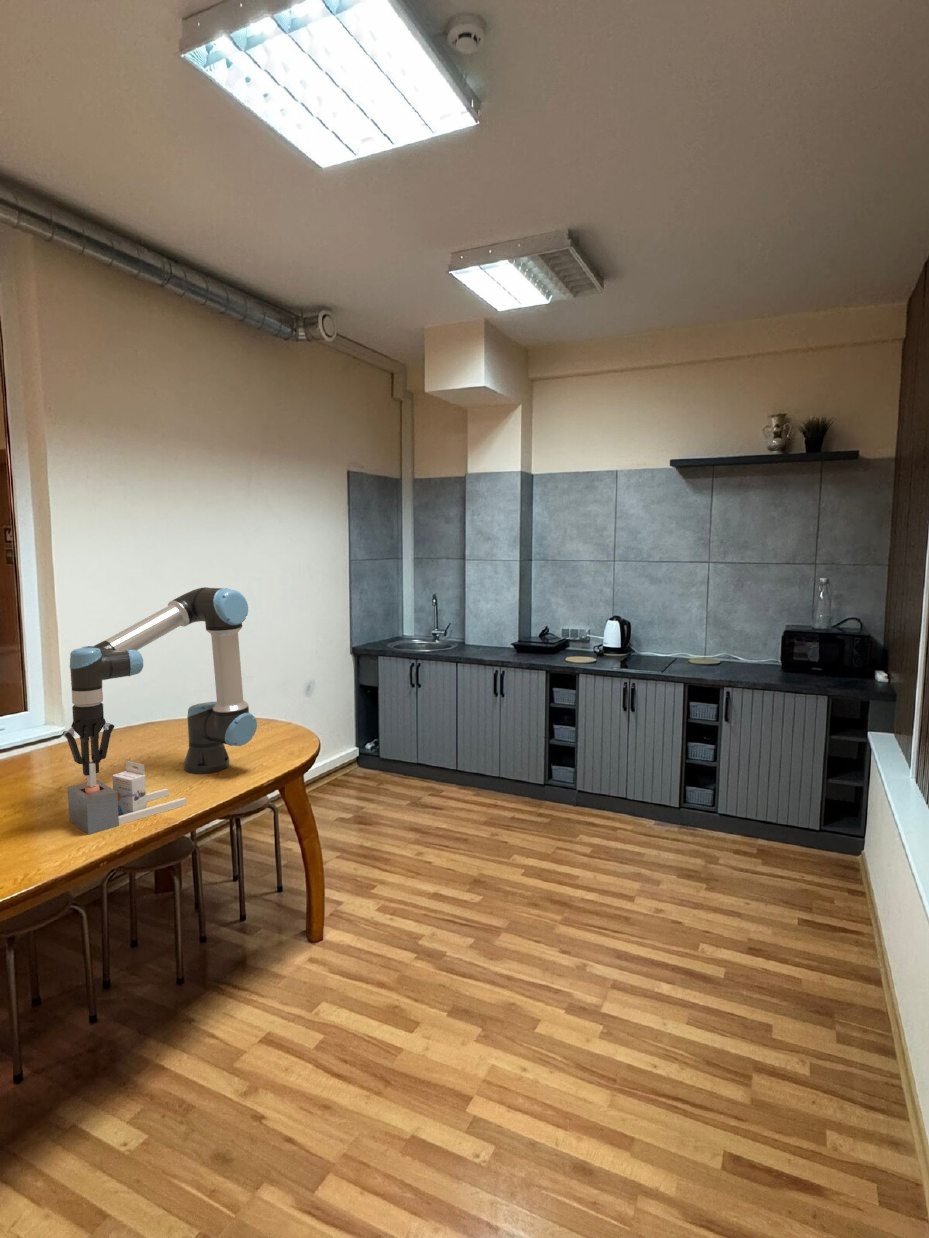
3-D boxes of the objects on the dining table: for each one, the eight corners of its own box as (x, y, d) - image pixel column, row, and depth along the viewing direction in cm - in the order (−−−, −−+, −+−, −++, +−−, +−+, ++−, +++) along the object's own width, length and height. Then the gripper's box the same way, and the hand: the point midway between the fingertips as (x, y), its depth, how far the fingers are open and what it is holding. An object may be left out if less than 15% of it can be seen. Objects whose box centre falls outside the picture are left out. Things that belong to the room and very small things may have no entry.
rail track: (166, 794, 212) (166, 788, 212) (186, 804, 204) (186, 798, 203) (99, 812, 197) (99, 806, 197) (118, 825, 189) (117, 818, 188)
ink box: (112, 813, 197) (110, 765, 195) (127, 807, 201) (125, 760, 200) (133, 818, 193) (131, 769, 192) (147, 812, 198) (145, 764, 196)
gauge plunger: (97, 799, 192) (96, 782, 191) (102, 802, 189) (101, 785, 189) (83, 803, 189) (82, 786, 188) (88, 806, 187) (87, 789, 186)
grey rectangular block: (99, 812, 197) (97, 779, 196) (118, 825, 188) (117, 791, 187) (69, 820, 191) (67, 786, 190) (88, 834, 182) (86, 799, 181)
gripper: (106, 697, 193) (110, 776, 196) (56, 705, 183) (61, 788, 186) (117, 701, 188) (121, 782, 191) (67, 710, 179) (71, 794, 181)
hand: (91, 785), depth 188 cm, fingers closed
